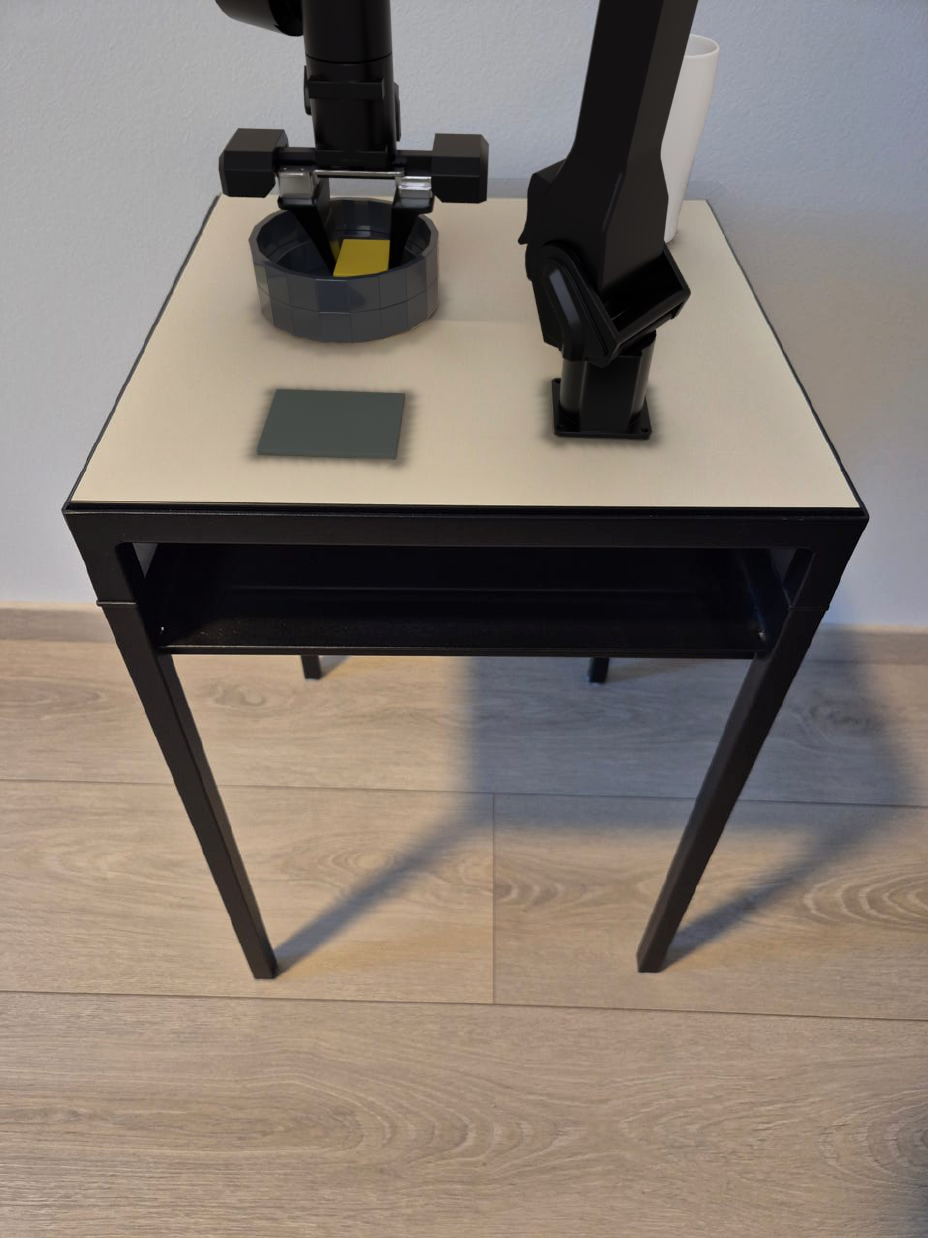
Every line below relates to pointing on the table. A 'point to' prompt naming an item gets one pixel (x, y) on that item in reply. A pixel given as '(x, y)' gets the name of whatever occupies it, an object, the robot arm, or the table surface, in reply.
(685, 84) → the white cup
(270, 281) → the bowl
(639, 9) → the robot arm
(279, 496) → the table surface
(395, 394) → the mat
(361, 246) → the sponge
